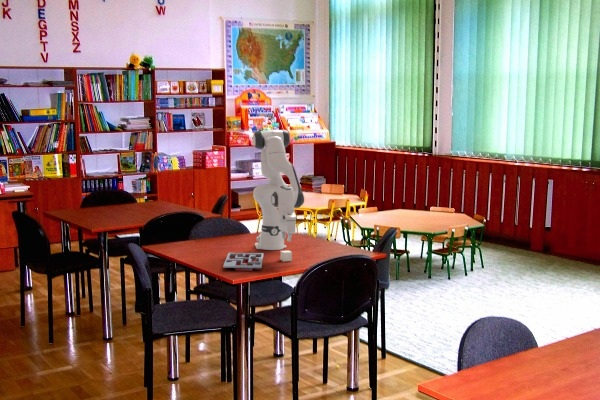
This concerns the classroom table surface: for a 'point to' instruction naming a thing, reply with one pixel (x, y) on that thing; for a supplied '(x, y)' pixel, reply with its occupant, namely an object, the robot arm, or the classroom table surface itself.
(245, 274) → the classroom table surface
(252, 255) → the maze game
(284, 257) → the cream cube
